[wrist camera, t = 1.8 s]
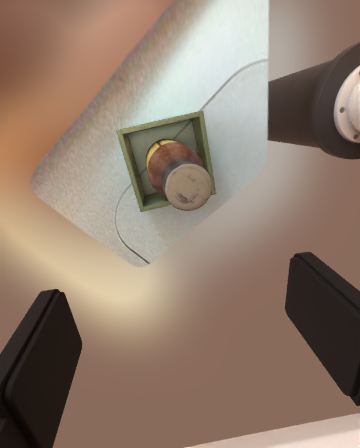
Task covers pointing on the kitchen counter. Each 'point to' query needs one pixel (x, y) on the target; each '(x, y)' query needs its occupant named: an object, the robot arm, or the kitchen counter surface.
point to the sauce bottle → (178, 174)
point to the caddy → (143, 201)
